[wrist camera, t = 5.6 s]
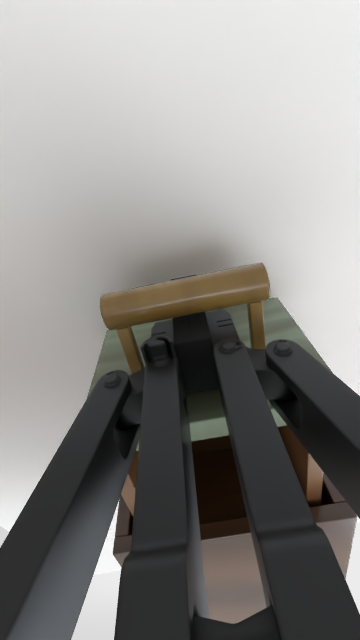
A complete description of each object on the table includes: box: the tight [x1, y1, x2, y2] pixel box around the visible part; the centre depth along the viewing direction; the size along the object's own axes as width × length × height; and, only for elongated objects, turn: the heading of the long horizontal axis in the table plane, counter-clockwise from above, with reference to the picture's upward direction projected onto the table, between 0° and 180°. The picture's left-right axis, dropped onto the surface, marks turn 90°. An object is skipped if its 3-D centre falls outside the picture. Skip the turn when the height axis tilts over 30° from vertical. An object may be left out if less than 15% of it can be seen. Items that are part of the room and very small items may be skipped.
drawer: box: [87, 263, 332, 525], centre depth 18 cm, size 18×11×9 cm, turn 11°
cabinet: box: [113, 472, 357, 624], centre depth 24 cm, size 15×13×11 cm
